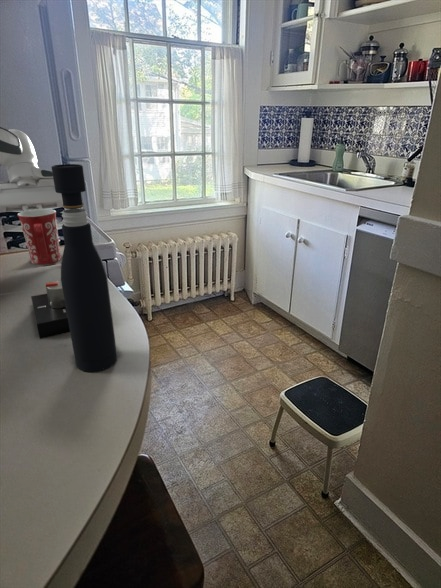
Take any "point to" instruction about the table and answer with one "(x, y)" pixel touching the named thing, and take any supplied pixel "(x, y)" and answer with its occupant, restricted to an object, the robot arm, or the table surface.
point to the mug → (41, 235)
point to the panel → (49, 317)
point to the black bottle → (83, 278)
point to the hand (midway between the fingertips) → (35, 220)
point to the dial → (55, 294)
